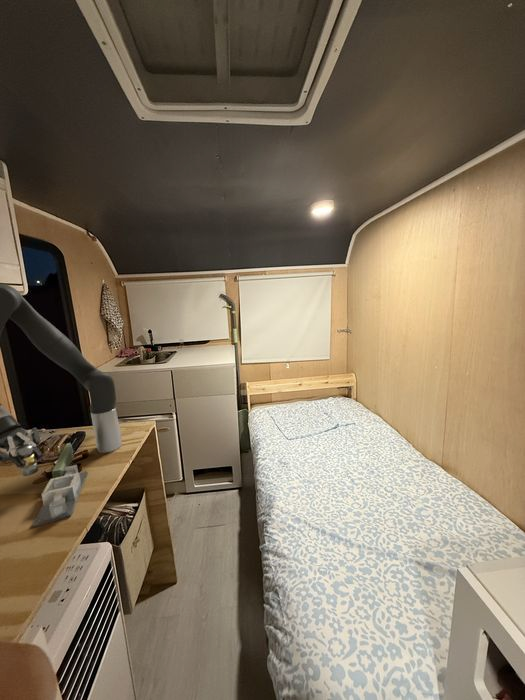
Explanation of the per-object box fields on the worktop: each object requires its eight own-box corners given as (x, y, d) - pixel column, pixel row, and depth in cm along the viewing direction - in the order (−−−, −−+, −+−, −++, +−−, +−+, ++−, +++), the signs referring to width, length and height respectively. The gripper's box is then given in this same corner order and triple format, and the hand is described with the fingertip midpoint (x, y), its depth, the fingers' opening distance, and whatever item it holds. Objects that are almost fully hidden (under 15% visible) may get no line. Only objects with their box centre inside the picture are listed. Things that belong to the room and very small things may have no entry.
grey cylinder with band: (29, 468, 92) (23, 444, 91) (41, 467, 92) (35, 443, 91) (19, 476, 88) (12, 450, 87) (31, 475, 88) (25, 450, 87)
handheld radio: (52, 489, 94) (69, 453, 117) (64, 486, 96) (78, 451, 118) (49, 471, 93) (66, 438, 116) (61, 469, 94) (75, 437, 117)
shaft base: (58, 480, 98) (55, 467, 97) (87, 473, 101) (85, 461, 100) (33, 527, 78) (29, 511, 77) (70, 516, 81) (67, 501, 80)
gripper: (-27, 426, 83) (9, 469, 81) (26, 407, 96) (58, 443, 94) (-33, 440, 85) (2, 482, 84) (20, 420, 99) (51, 455, 97)
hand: (31, 461), depth 89 cm, fingers closed on grey cylinder with band, 4 cm apart
